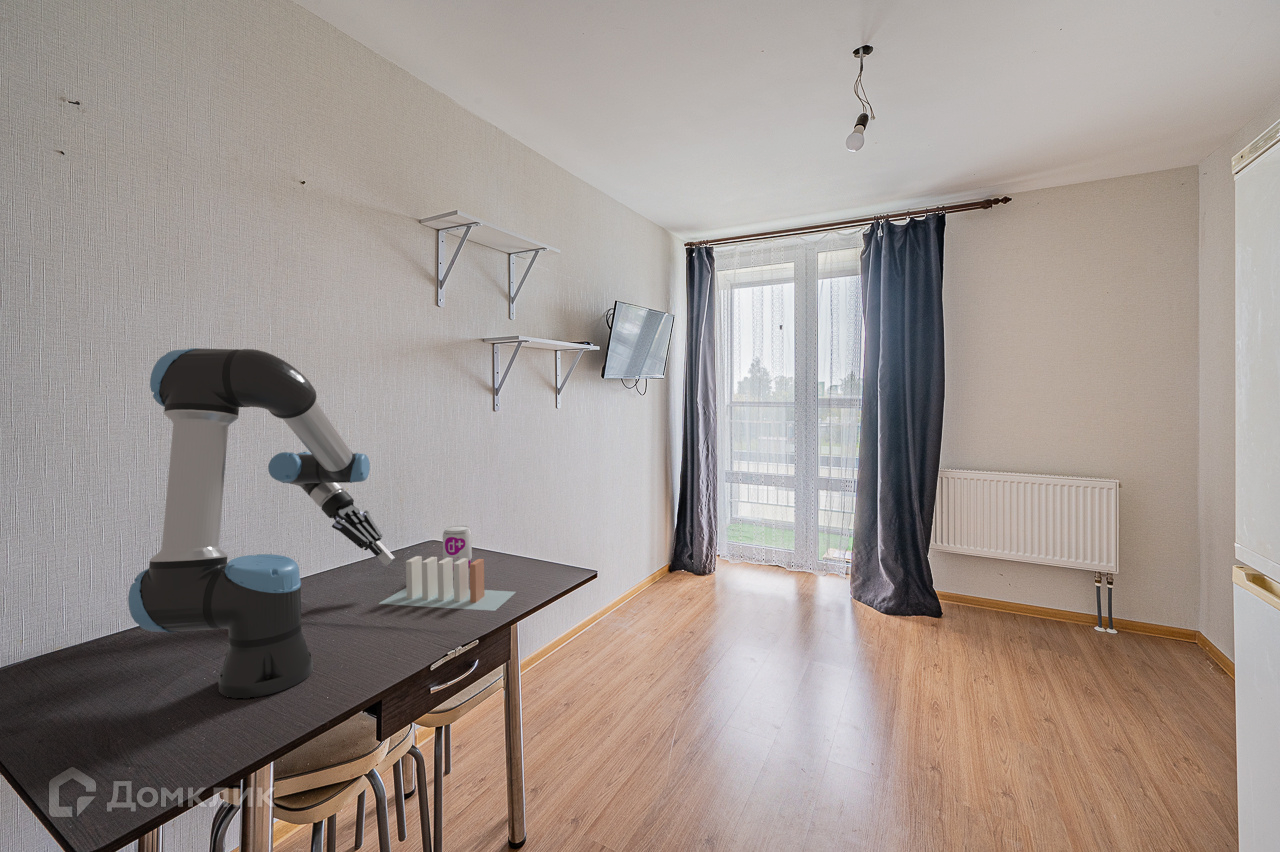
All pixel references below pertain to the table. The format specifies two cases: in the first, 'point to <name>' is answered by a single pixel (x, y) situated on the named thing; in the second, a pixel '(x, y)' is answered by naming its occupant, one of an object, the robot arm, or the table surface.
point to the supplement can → (457, 544)
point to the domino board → (452, 600)
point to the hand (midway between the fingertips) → (390, 561)
